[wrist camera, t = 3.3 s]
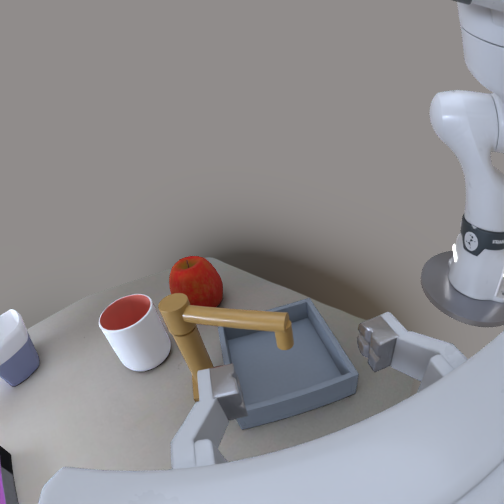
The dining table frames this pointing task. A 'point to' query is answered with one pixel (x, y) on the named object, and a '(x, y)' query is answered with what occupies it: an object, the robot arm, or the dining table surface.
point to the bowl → (16, 349)
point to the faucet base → (194, 355)
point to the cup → (135, 332)
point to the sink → (288, 367)
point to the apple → (196, 281)
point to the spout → (223, 319)
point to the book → (6, 479)
